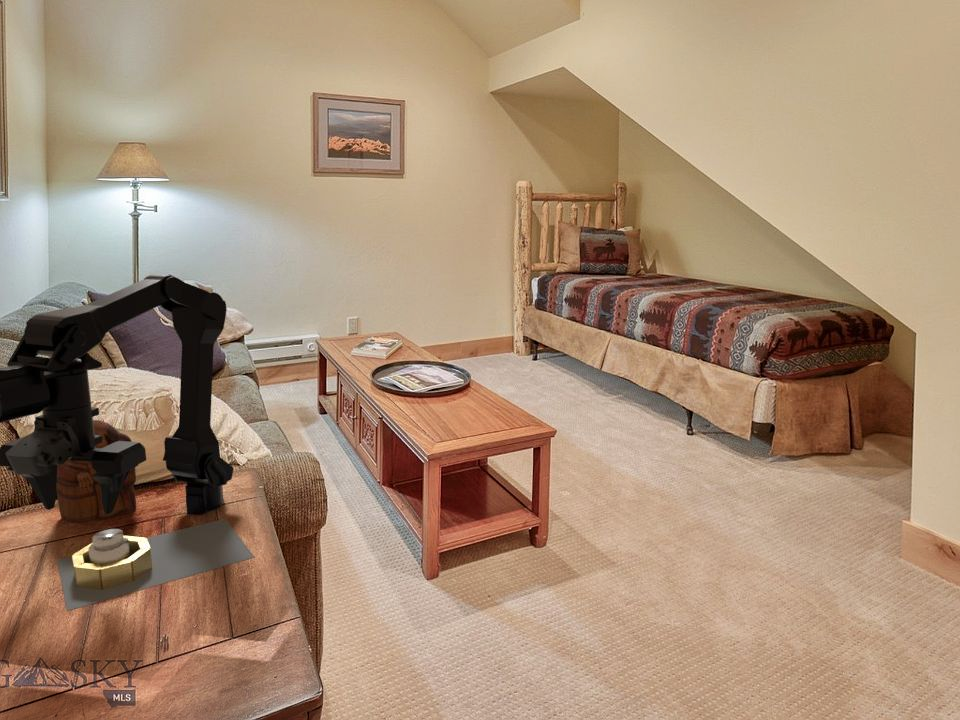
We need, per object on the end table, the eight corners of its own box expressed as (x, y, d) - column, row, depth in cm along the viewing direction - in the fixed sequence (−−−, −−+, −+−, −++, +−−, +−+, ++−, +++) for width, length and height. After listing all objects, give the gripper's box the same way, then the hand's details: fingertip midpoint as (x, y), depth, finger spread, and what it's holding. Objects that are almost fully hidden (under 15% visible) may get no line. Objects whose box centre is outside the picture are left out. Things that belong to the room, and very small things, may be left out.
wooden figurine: (60, 536, 105) (47, 431, 101) (60, 521, 110) (48, 421, 107) (141, 520, 111) (131, 421, 108) (137, 507, 116) (128, 412, 113)
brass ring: (108, 552, 97) (106, 533, 96) (164, 557, 96) (162, 539, 95) (58, 585, 88) (56, 565, 87) (120, 592, 86) (117, 571, 86)
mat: (225, 527, 109) (224, 518, 109) (255, 566, 96) (254, 557, 96) (58, 568, 95) (57, 559, 95) (68, 621, 82) (66, 610, 82)
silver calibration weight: (108, 560, 95) (104, 525, 94) (139, 563, 94) (135, 528, 93) (82, 577, 90) (78, 541, 89) (115, 581, 89) (111, 544, 88)
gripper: (-48, 418, 81) (-31, 531, 84) (84, 426, 79) (97, 543, 82) (25, 396, 92) (38, 497, 95) (143, 402, 89) (153, 507, 92)
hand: (79, 511), depth 91 cm, fingers open, 9 cm apart
